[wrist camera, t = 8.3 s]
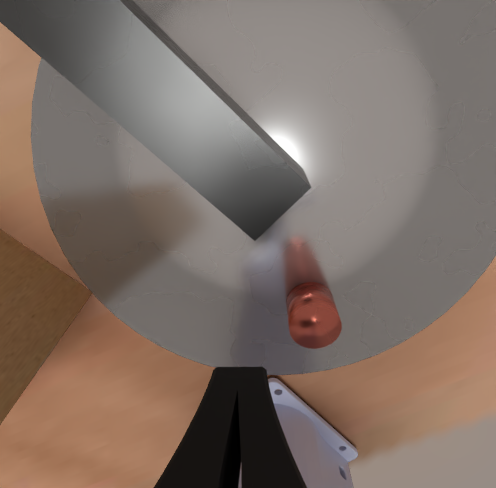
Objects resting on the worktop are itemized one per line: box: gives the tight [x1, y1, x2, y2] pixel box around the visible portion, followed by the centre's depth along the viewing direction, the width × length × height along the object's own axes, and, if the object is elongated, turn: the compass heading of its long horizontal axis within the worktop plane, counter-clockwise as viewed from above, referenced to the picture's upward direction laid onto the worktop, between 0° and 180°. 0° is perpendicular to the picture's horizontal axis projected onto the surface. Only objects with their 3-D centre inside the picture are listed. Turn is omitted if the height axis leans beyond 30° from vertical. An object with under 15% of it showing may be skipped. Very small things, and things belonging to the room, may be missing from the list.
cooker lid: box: [0, 0, 496, 375], centre depth 10 cm, size 17×14×3 cm
